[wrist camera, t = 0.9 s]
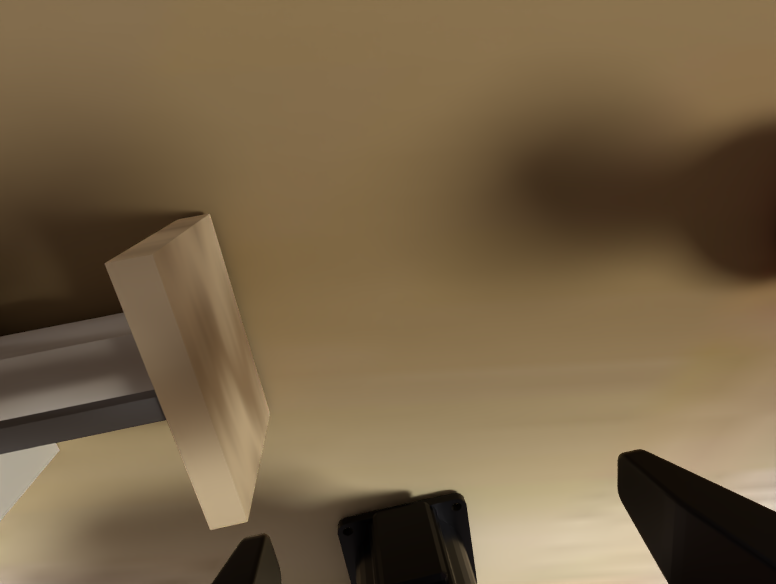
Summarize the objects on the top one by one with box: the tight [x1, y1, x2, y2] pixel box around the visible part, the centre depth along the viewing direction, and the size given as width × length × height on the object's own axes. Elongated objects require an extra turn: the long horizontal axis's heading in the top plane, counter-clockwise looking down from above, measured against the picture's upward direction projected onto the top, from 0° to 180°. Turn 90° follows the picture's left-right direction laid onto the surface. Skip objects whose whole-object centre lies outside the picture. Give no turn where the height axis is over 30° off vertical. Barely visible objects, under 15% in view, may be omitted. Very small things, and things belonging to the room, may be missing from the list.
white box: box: [0, 214, 270, 530], centre depth 16 cm, size 9×15×6 cm, turn 100°
